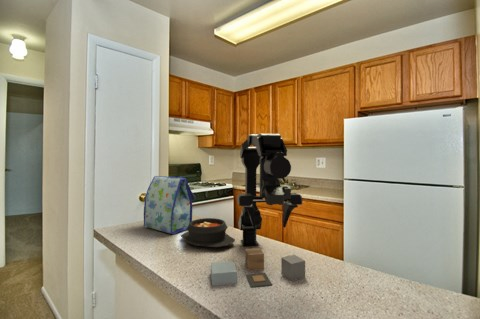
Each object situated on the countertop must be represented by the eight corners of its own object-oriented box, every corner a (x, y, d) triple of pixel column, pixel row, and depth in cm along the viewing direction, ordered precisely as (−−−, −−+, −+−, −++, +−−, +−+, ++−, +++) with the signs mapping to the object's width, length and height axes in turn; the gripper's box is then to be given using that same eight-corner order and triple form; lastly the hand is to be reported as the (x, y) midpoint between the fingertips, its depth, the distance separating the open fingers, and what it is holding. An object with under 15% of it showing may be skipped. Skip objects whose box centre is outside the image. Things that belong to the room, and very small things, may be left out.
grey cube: (281, 273, 75) (281, 257, 75) (294, 270, 77) (294, 254, 77) (291, 281, 70) (291, 263, 70) (305, 277, 73) (305, 260, 73)
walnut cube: (245, 264, 82) (245, 249, 82) (259, 262, 83) (259, 248, 83) (248, 270, 77) (248, 254, 77) (264, 269, 78) (263, 253, 78)
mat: (245, 275, 74) (245, 273, 74) (265, 273, 75) (265, 271, 75) (251, 287, 67) (251, 285, 67) (272, 285, 68) (272, 283, 68)
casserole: (244, 242, 102) (244, 222, 102) (212, 256, 88) (212, 233, 88) (203, 231, 118) (203, 214, 118) (170, 241, 103) (170, 221, 103)
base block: (210, 274, 75) (210, 263, 75) (233, 272, 76) (233, 261, 76) (212, 286, 68) (212, 273, 68) (237, 283, 69) (237, 271, 69)
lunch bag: (196, 227, 124) (196, 176, 124) (171, 236, 110) (171, 178, 110) (166, 221, 136) (166, 174, 136) (140, 228, 122) (140, 176, 122)
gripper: (241, 178, 64) (241, 237, 64) (310, 177, 66) (309, 235, 67) (237, 175, 75) (237, 225, 75) (295, 174, 77) (295, 223, 78)
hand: (269, 227), depth 73 cm, fingers open, 9 cm apart
